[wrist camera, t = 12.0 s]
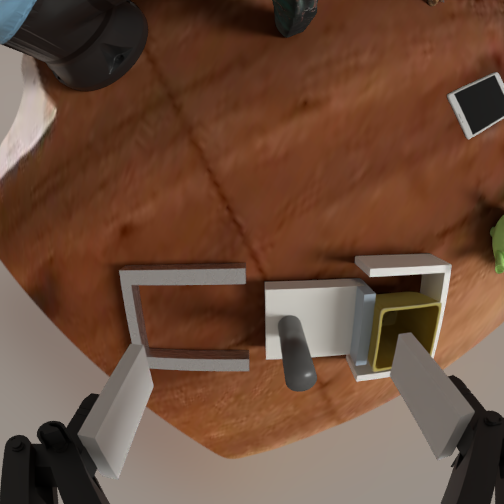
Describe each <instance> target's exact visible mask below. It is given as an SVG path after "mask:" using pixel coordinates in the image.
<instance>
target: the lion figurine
mask: <svg viewBox="0 0 504 504" xmlns="http://www.w3.org/2000/svg"><path fill="white" fill-rule="evenodd" d="M438 1H439V0H433V1H432V0H428V4H429V5H430V6H434V5H436V4H437V2H438ZM440 1H441V2H444V0H440Z"/></svg>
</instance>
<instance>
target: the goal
mask: <svg viewBox="0 0 504 504" xmlns="http://www.w3.org/2000/svg"><path fill="white" fill-rule="evenodd" d="M355 264H356V265H357V266H358V267H359V268H360V269H362V270H363V271H364V272H365V273H366V274H367V275H368V276H369V277H381V276H399V275H415V274H422V280H421V287H420V293H421V294H424V295H426V296H428V297H431V298H433V299H435V300H437V301H439V302H441V303H442V307H441V313H440V319H439V323H438V328H437V333H436V338H435V342H434V347H433V351H432V356H431V357H432V358H434V354H435V350H436V346H437V342H438V338H439V334H440V329H441V325H442V320H443V315H444V310H445V304H446V299H447V293H448V287H449V280H450V273H451V266H452V265H451V264H449V263H447V262H446V261H444V260H442V259H440V258H438V257H436V256H434V255H432V254H402V255H372V256H355ZM346 360H347V362H348V365H349V367H350V369H351V371H352V373H353V375H354V378H355V380H356V381H364V380H372V379H379V378H386V377H390V372H391V369H388V370H384V371H377V372H373V371H372V368H371V366H370V363H369V360H368V357H367V363H366V365H359V366H355V364H354V362H353V360H352V358H351V356H350V354H346Z"/></svg>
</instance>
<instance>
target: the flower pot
mask: <svg viewBox="0 0 504 504" xmlns="http://www.w3.org/2000/svg"><path fill="white" fill-rule="evenodd" d="M441 307H442V303H441V302H439V301H437V300H435V299H433V298H431V297H428V296H426V295H424V294H421V293H418V292H397V293H387V294H376V299H375V306H374V314H373V324H372V331H371V338H370V345H369V351H368V360H369V363H370V366H371V368H372V371H373V372H377V371H384V370H388V369H391V368H392V364H393V359H394V355H395V350H396V345H397V340H398V335H399V334H403V333H410V332H411V333H412V334H413V335H414V336H415V338H416V339H417V340H418V341H419V342H420V344H421V345H422V346H423V347H424V348H425V349H426V351H427V352H428V353H429V354H430V355H431V356H432V351H433V347H434V342H435V338H436V333H437V328H438V323H439V319H440V313H441ZM382 319H383V322H382Z"/></svg>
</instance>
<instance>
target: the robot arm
mask: <svg viewBox="0 0 504 504" xmlns="http://www.w3.org/2000/svg"><path fill="white" fill-rule="evenodd" d="M147 36H148V25H147V20H146V18H145V16H144V14H143V13H142V11H141V10H140V9H139V8H138V6H137V5H136V4H134V3H133V2H132V1H130V0H0V44H2V45H4V46H7V47H9V48H12V49H15V50H17V51H19V52H22V53H24V54H27V55H29V56H32V57H34V58H37V59H39V60H41V61H44V62H46V64H47V65H48V67H49V68H50V69H51V70H52V71H53V74H54V75H55V77H56V78H57V79H58V80H59V81H60V82H61V83H62V84H64V85H66V86H68V87H70V88H73V89H75V90H79V91H93V90H97V89H101V88H103V87H106V86H108V85H110V84H112V83H113V82H115V81H116V80H118V79H119V78H121V77H122V76H123V75H124V74H125V73H126V72H127V71H128V70H129V69H130V68H131V67H132V66H133V65H134V64H135V62H136V61H137V60H138V58H139V57H140V55H141V53H142V51H143V49H144V47H145V44H146V40H147ZM390 377H391V378H392V380H393V382H394V384H395V385H396V387H397V389H398V390H399V392H400V394H401V396H402V397H403V399H404V401H405V402H406V404H407V406H408V408H409V409H410V411H411V413H412V415H413V416H414V418H415V420H416V421H417V423H418V426H419V427H420V429H421V431H422V433H423V435H424V436H425V438H426V440H427V442H428V444H429V446H430V447H431V449H432V451H433V453H434V455H435V457H436V459H437V460H439V459H442V458H445V457H448V456H450V455H452V453H453V452H454V450H455V448H456V447H457V448H458V450H459V451H460V452H459V454H458V456H457V457H456V459H455V461H454V462H453V464H452V465H451V467H453V466H454V468H453V471H452V474H451V477H450V480H449V483H448V486H447V489H446V491H445V494H444V496H443V499H442V502H441V504H490V503H491V499H492V495H493V491H494V487H495V504H504V418H503V417H502V416H501V415H500V414H499V413H497V412H494V411H486V410H485V409H484V407H483V406H482V405H481V404H480V403H479V401H478V400H477V399H476V397H475V396H474V395H473V394H472V393H471V391H470V390H469V389H468V388H467V387H466V385H465V384H464V383H463V382H462V381H461V380H460V379H459V378H457V377H455V376H454V375H452V376H447V375H446V374H445V373H444V371H443V370H442V369H441V368H440V366H439V365H438V364H437V363H436V362H435V360H434V359H433V358H432V357H431V355H430V354H429V353H428V352H427V351H426V349H425V348H424V347H423V346H422V345H421V344H420V342H419V341H418V340H417V339H416V338H415V336H414V335H413V334H412V333H411V332H410V333H403V334H399V335H398V340H397V345H396V350H395V355H394V359H393V364H392V368H391V372H390ZM153 387H154V386H153V382H152V378H151V374H150V370H149V366H148V362H147V357H146V353H145V349H144V345H136V344H130V345H129V347H128V348H127V350H126V352H125V353H124V355H123V357H122V358H121V360H120V362H119V363H118V365H117V366H116V368H115V370H114V371H113V373H112V375H111V377H110V378H109V380H108V382H107V383H106V385H105V387H104V389H103V390H102V392H101V394H100V395H99V394H90V395H89V396H88V397H86V398H85V399H84V400H83V401H82V403H81V405H80V406H79V409H78V410H77V411H76V414H75V415H74V416H73V418H72V419H71V421H70V423H69V425H68V426H67V428H66V427H65V426H64V424H62V423H61V422H58V421H49V422H47V423H44V424H43V425H42V426H40V428H39V429H38V431H37V437H38V439H39V440H40V442H41V443H42V444H31V442H30V441H29V439H28V438H27V437H25V436H23V435H17V436H14V437H11V438H10V439H9V440H8V441H7V443H6V445H5V450H4V459H3V467H2V477H1V490H0V504H58V495H57V487H58V490H59V492H60V495H61V498H62V500H63V503H64V504H110V503H109V501H108V500H107V498H106V496H105V494H104V492H103V490H102V488H101V486H100V485H99V482H98V480H97V478H96V477H95V472H96V470H97V469H98V471H99V472H100V474H101V475H102V476H104V477H108V478H113V479H119V476H120V473H121V470H122V468H123V465H124V462H125V459H126V457H127V454H128V451H129V449H130V446H131V443H132V440H133V438H134V435H135V433H136V430H137V427H138V425H139V422H140V420H141V417H142V414H143V412H144V409H145V407H146V404H147V402H148V399H149V397H150V394H151V392H152V389H153ZM454 464H455V465H454Z"/></svg>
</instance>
